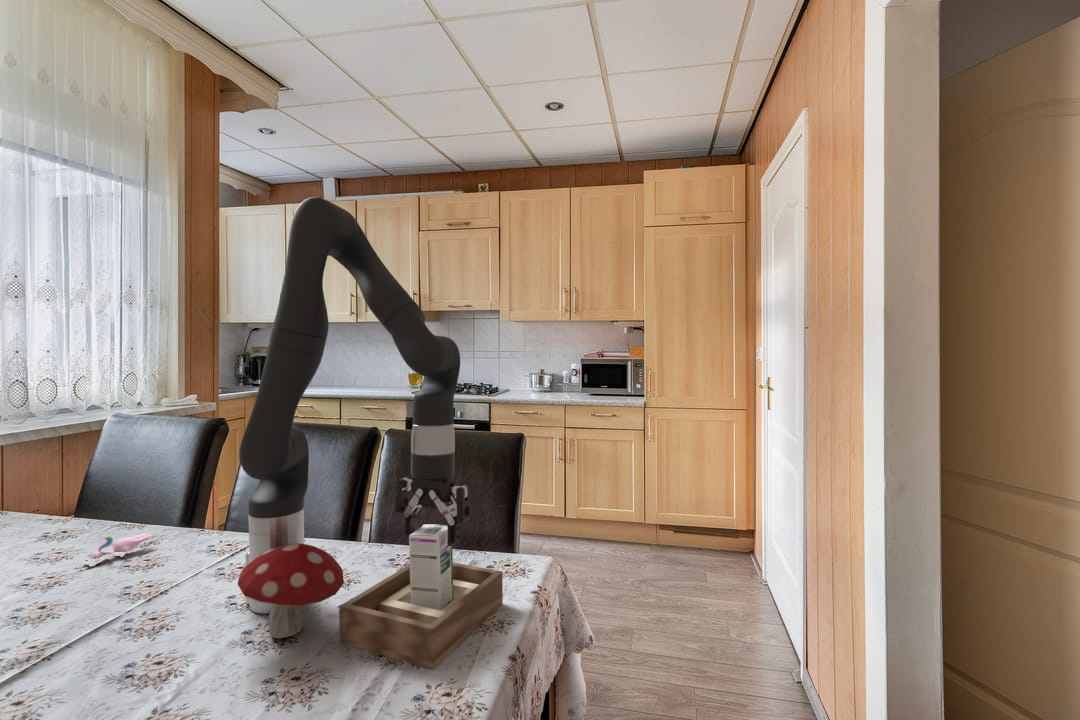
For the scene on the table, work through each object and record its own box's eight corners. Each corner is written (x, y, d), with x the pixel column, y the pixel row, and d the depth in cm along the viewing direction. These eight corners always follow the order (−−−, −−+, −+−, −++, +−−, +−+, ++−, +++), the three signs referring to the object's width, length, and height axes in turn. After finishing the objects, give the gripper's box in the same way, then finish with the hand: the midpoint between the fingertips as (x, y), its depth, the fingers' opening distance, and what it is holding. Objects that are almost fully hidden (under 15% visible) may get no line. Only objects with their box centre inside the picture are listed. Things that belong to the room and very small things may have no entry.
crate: (339, 643, 84) (339, 606, 84) (422, 586, 104) (422, 556, 104) (433, 669, 77) (432, 629, 77) (502, 603, 97) (502, 571, 97)
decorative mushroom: (333, 602, 98) (332, 522, 98) (355, 641, 85) (354, 549, 84) (234, 627, 89) (233, 540, 89) (242, 675, 76) (241, 572, 76)
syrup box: (440, 620, 89) (440, 536, 89) (409, 616, 90) (408, 533, 90) (454, 605, 95) (453, 525, 94) (423, 601, 96) (423, 522, 96)
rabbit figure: (86, 578, 112) (162, 544, 125) (80, 552, 111) (157, 521, 124) (73, 572, 115) (148, 540, 128) (66, 547, 114) (144, 517, 127)
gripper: (479, 449, 92) (477, 540, 93) (413, 442, 98) (412, 528, 98) (455, 456, 86) (454, 555, 86) (386, 449, 91) (385, 541, 92)
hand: (432, 541), depth 92 cm, fingers open, 8 cm apart
